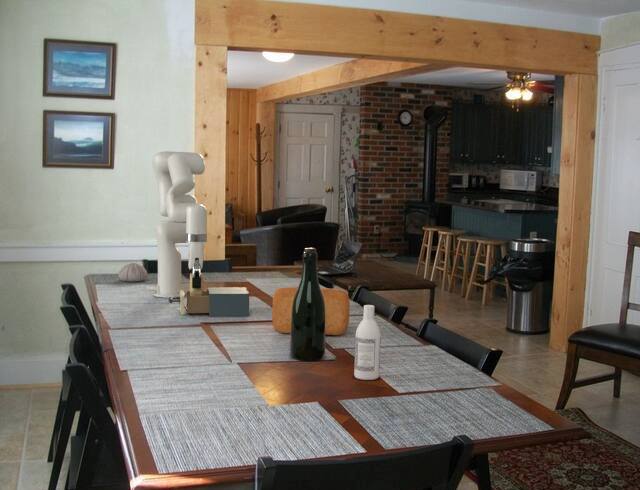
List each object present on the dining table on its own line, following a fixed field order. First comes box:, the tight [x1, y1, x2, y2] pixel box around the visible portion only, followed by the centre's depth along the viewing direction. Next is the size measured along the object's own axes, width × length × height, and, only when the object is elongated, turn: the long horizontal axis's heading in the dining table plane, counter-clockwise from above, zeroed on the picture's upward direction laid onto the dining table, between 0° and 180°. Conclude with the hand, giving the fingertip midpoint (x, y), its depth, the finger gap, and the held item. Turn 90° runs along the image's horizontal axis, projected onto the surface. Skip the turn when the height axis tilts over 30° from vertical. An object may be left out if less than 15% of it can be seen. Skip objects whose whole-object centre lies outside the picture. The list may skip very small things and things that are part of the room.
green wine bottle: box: [289, 247, 326, 362], centre depth 238 cm, size 10×10×33 cm
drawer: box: [168, 289, 209, 315], centre depth 300 cm, size 18×13×7 cm
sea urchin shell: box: [117, 262, 149, 283], centre depth 372 cm, size 13×14×8 cm
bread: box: [271, 286, 351, 336], centre depth 277 cm, size 16×26×17 cm
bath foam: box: [353, 304, 382, 381], centre depth 219 cm, size 7×7×20 cm
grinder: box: [189, 272, 204, 296], centre depth 300 cm, size 5×5×13 cm
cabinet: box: [206, 286, 250, 318], centre depth 303 cm, size 15×15×9 cm
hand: (196, 286), depth 300 cm, fingers closed on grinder, 4 cm apart
